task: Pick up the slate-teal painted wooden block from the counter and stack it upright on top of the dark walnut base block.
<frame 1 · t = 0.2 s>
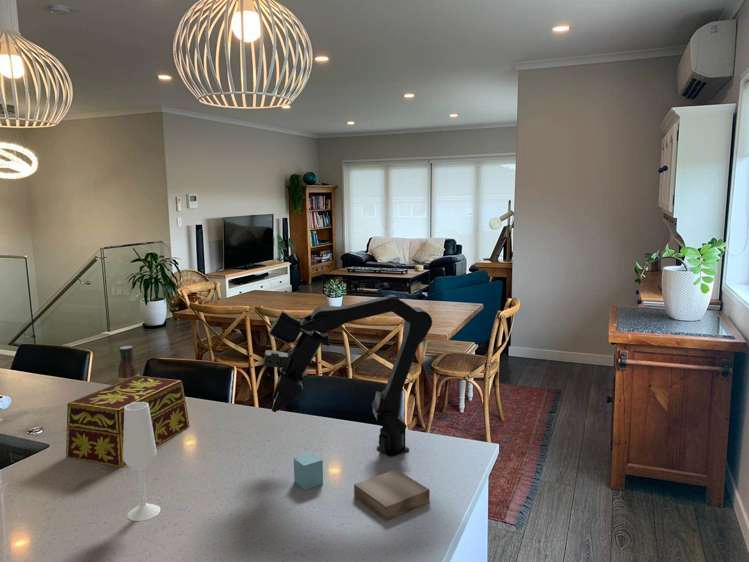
hand: (273, 404, 144), 15 cm above the counter, tool tilted 30°, fingers open, 9 cm apart
teal block: (308, 482, 134), on the counter
decorative box: (131, 442, 159), on the counter
champagne flute: (144, 513, 122), on the counter
walnut base: (391, 499, 126), on the counter
sauce bottle: (131, 405, 188), on the counter
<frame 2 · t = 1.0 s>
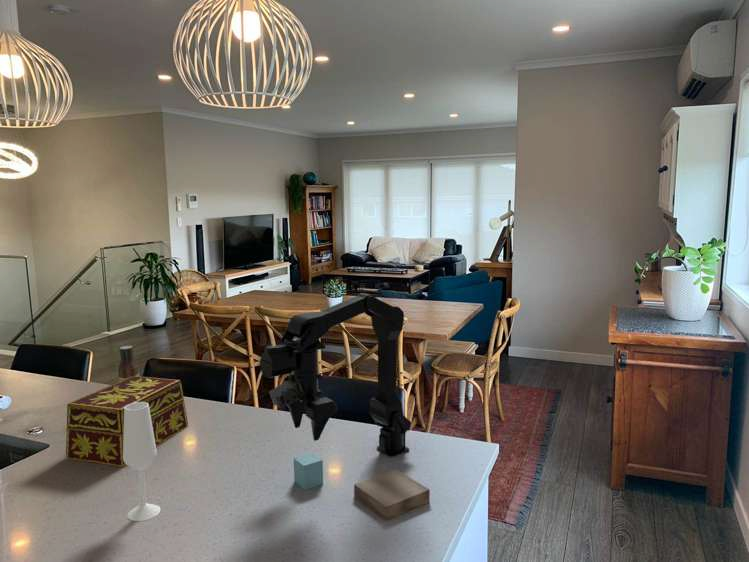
hand: (306, 433, 133), 12 cm above the counter, tool pointing down, fingers open, 9 cm apart
nothing on the counter moved.
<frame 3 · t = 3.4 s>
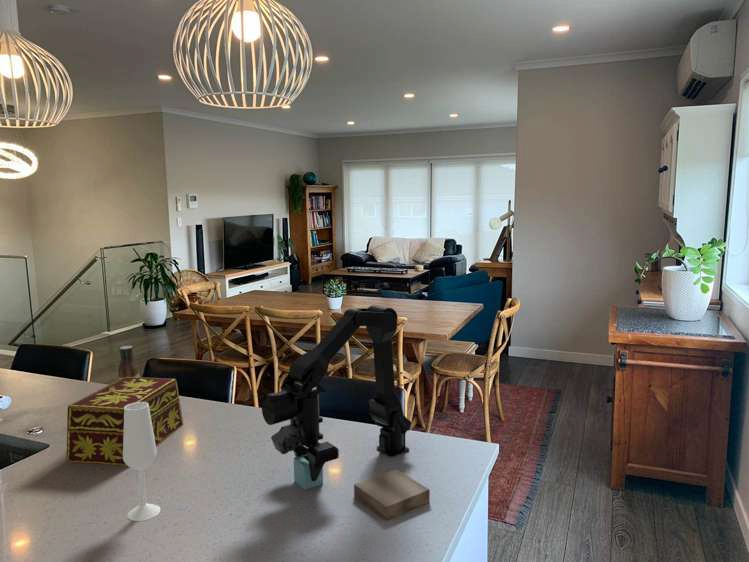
hand: (308, 476, 134), 2 cm above the counter, tool pointing down, fingers closed on teal block, 5 cm apart
teal block: (308, 482, 134), on the counter, touching gripper
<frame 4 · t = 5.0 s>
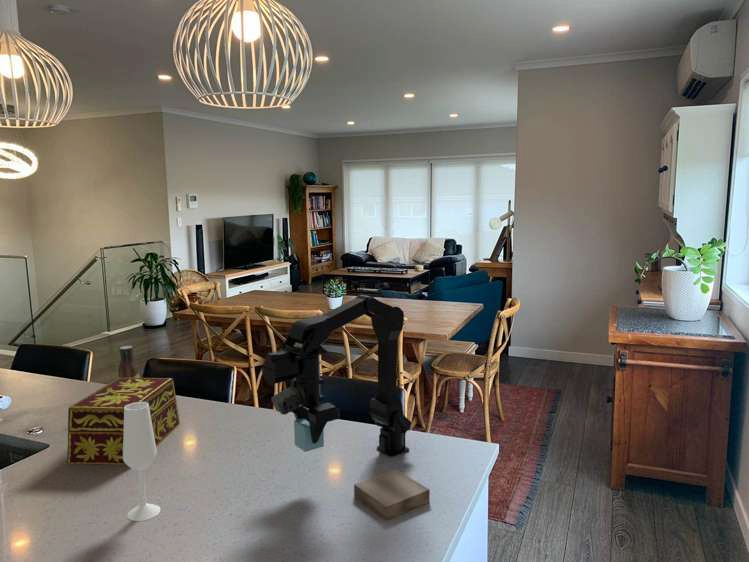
hand: (309, 439, 132), 11 cm above the counter, tool pointing down, fingers closed on teal block, 5 cm apart
teal block: (309, 445, 133), point 9 cm above the counter, touching gripper
when the fingers open (6 cm above the counter, at t = 8.0 s): teal block drops 1 cm, resting on walnut base.
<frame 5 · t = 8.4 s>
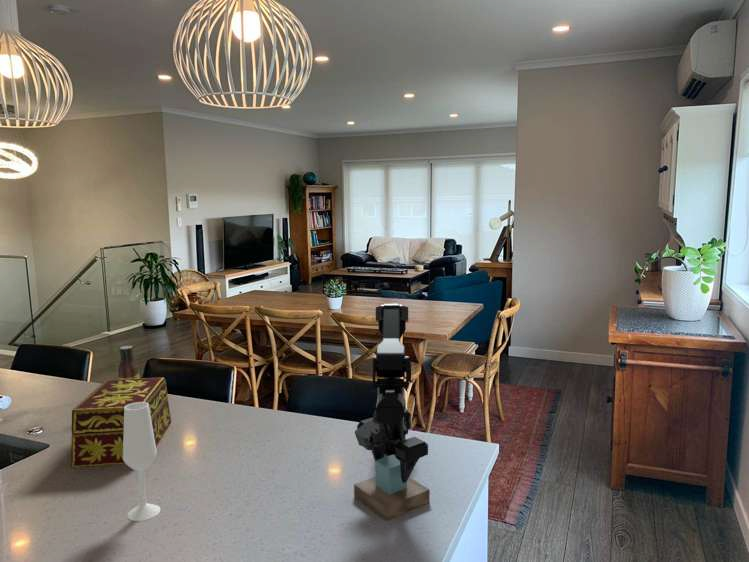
hand: (391, 474, 125), 6 cm above the counter, tool pointing down, fingers open, 9 cm apart
teal block: (391, 486, 126), point 3 cm above the counter, touching walnut base
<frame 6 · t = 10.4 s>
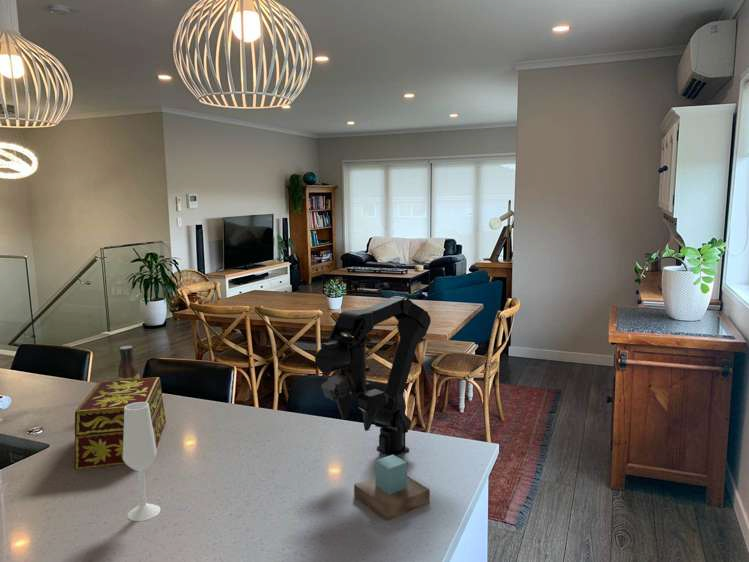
hand: (355, 424, 139), 12 cm above the counter, tool pointing down, fingers open, 9 cm apart
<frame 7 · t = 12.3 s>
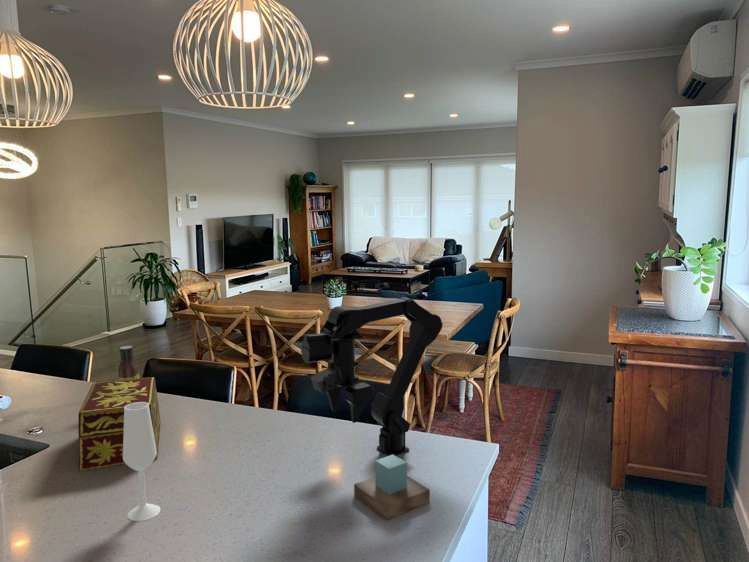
hand: (344, 416, 143), 12 cm above the counter, tool pointing down, fingers open, 9 cm apart
at the end: teal block inside the target area on the walnut base (0.1 cm from its centre), point 3.0 cm above the walnut base's base; teal block tilted 0°; the gripper is holding nothing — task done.
